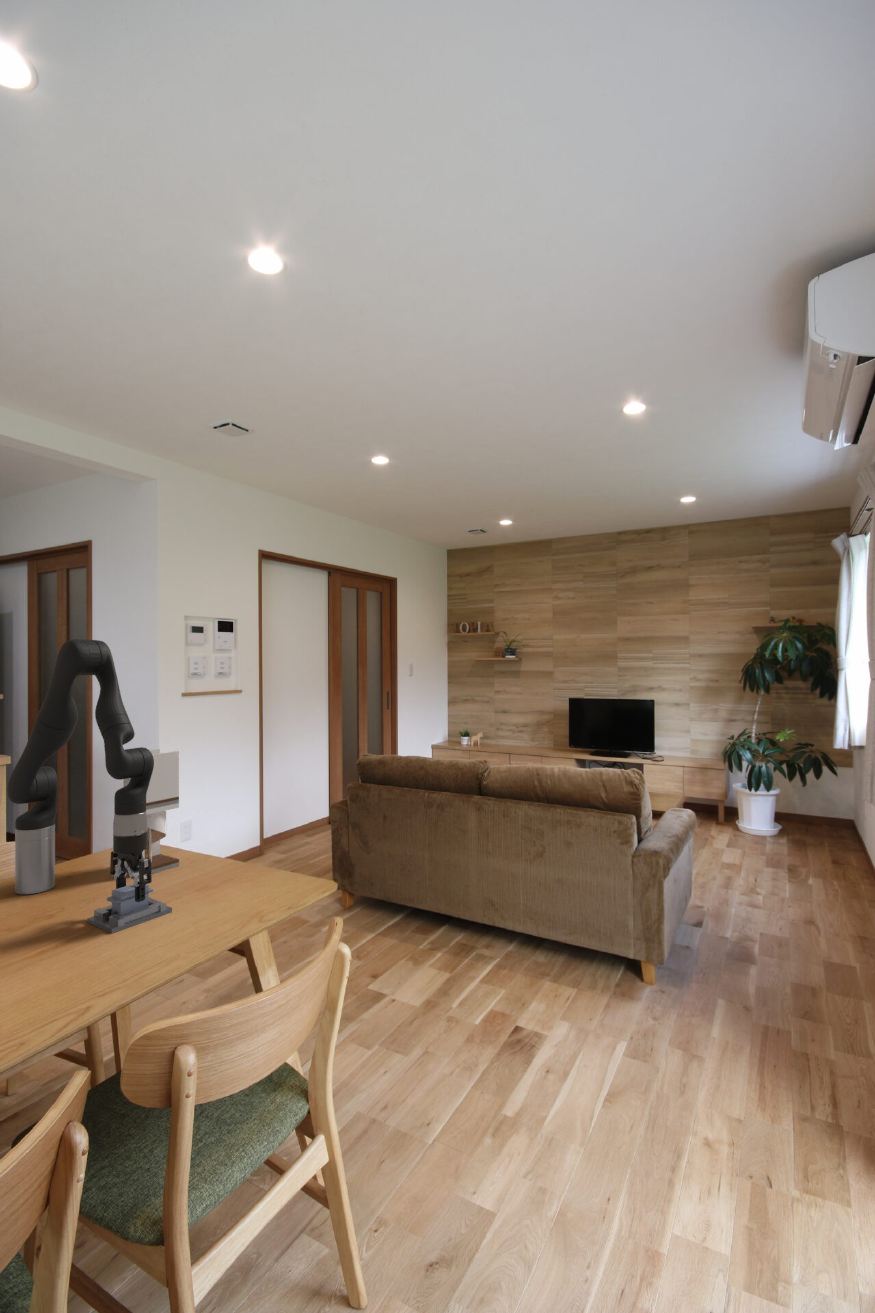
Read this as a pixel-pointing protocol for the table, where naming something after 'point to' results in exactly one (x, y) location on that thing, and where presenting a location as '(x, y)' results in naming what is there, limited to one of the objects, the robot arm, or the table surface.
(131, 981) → the table surface
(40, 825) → the robot arm
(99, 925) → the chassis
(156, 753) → the white alcove tower
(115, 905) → the servo
